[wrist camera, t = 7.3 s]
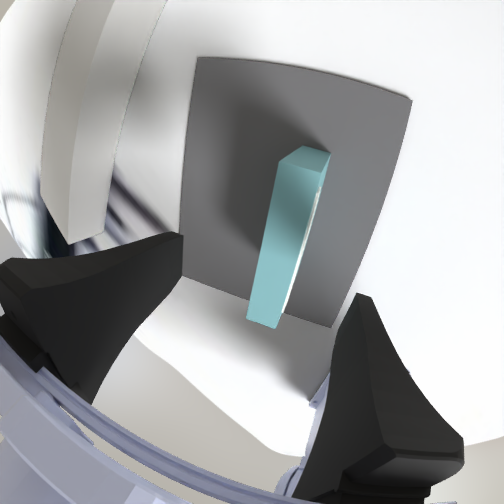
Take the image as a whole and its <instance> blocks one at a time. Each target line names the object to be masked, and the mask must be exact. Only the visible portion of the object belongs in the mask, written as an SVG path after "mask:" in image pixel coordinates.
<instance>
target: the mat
mask: <svg viewBox="0 0 504 504" xmlns="http://www.w3.org/2000/svg"><path fill="white" fill-rule="evenodd" d="M412 102H413V100H410V99H408V98H405V97H402V96H400V95H397V94H394V93H391V92H389V91H386V90H383V89H380V88H377V87H374V86H370V85H367V84H364V83H361V82H357V81H354V80H350V79H346V78H342V77H339V76H335V75H330V74H326V73H322V72H317V71H313V70H308V69H303V68H297V67H292V66H286V65H279V64H272V63H265V62H257V61H247V60H236V59H222V58H198V60H197V66H196V72H195V78H194V85H193V91H192V99H191V106H190V114H189V122H188V130H187V139H186V149H185V159H184V171H183V183H182V197H181V213H180V234H181V235H184V240H183V266H182V276H185V277H187V278H190V279H193V280H195V281H198V282H200V283H203V284H206V285H208V286H211V287H214V288H216V289H219V290H222V291H224V292H227V293H230V294H232V295H235V296H238V297H241V298H243V299H246V300H249V301H250V297H251V292H252V288H253V283H254V279H255V274H256V269H257V264H258V260H259V255H260V250H261V246H262V241H263V236H264V231H265V227H266V222H267V217H268V212H269V208H270V203H271V198H272V193H273V188H274V184H275V179H276V174H277V169H278V164H279V161H280V160H282V159H283V158H285V157H286V156H288V155H289V154H291V153H292V152H294V151H295V150H297V149H298V148H300V147H301V146H307V147H311V148H314V149H318V150H322V151H325V152H329V153H331V155H330V159H329V163H328V167H327V171H326V175H325V179H324V183H323V186H322V190H321V194H320V197H319V201H318V205H317V208H316V212H315V215H314V219H313V223H312V226H311V229H310V233H309V236H308V240H307V243H306V246H305V250H304V253H303V256H302V260H301V263H300V266H299V269H298V273H297V275H296V278H295V281H294V283H293V286H292V289H291V292H290V296H289V299H288V302H287V304H286V307H285V309H284V313H286V314H289V315H292V316H295V317H298V318H301V319H304V320H308V321H311V322H314V323H317V324H320V325H323V326H326V327H329V328H331V327H332V325H333V323H334V321H335V319H336V317H337V315H338V313H339V311H340V308H341V306H342V304H343V302H344V300H345V298H346V295H347V293H348V291H349V289H350V287H351V284H352V282H353V280H354V278H355V275H356V273H357V271H358V268H359V266H360V263H361V261H362V259H363V256H364V254H365V251H366V249H367V246H368V244H369V241H370V239H371V236H372V233H373V231H374V228H375V225H376V223H377V220H378V217H379V215H380V212H381V209H382V206H383V203H384V200H385V197H386V194H387V191H388V188H389V185H390V182H391V179H392V176H393V173H394V170H395V166H396V163H397V160H398V156H399V153H400V149H401V146H402V142H403V138H404V134H405V131H406V127H407V123H408V119H409V115H410V110H411V106H412Z"/></svg>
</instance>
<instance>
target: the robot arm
mask: <svg viewBox="0 0 504 504" xmlns="http://www.w3.org/2000/svg"><path fill="white" fill-rule="evenodd" d="M183 240H184V235H181V234H178V233H175V232H172V231H171V232H166V233H162V234H158V235H155V236H151V237H148V238H145V239H142V240H138V241H135V242H132V243H129V244H125V245H121V246H118V247H114V248H111V249H107V250H103V251H99V252H94V253H89V254H84V255H77V256H69V257H61V258H47V259H28V258H10V259H8V260H6V261H5V262H3V263H2V264H0V303H1V306H2V308H3V310H4V312H5V314H4V315H2V316H0V415H1V416H2V418H1V419H0V432H1V433H2V435H3V436H4V437H5V438H4V440H3V441H2V442H1V443H0V504H192V503H190V502H188V501H186V500H183V499H181V498H179V497H177V496H176V495H174V494H172V493H170V492H168V491H166V490H164V489H162V488H160V487H158V486H156V485H154V484H153V483H151V482H149V481H147V480H146V479H144V478H142V477H140V476H139V475H137V474H135V473H134V472H132V471H130V470H129V469H127V468H126V467H124V466H122V465H121V464H119V463H118V462H116V461H115V460H113V459H112V458H110V457H108V456H107V455H106V454H104V453H103V452H101V451H100V450H99V449H97V448H96V447H94V446H93V445H94V443H93V442H92V440H90V439H89V438H88V437H87V436H86V435H85V434H84V433H83V432H82V431H81V429H80V428H79V427H78V426H77V425H76V423H75V422H74V420H73V419H71V418H70V416H68V415H67V414H66V413H65V412H64V411H63V410H62V409H61V408H60V406H61V407H62V408H63V409H65V410H66V411H67V412H68V413H69V414H71V415H72V416H73V417H74V418H76V419H77V420H78V421H79V422H81V423H82V424H83V425H84V426H86V427H87V428H88V429H90V430H91V431H92V432H94V433H95V434H97V435H98V436H99V437H101V438H102V439H104V440H105V441H107V442H108V443H110V444H111V445H113V446H114V447H116V448H117V449H119V450H120V451H122V452H123V453H125V454H127V455H128V456H130V457H131V458H133V459H135V460H137V461H138V462H140V463H142V464H143V465H145V466H147V467H149V468H151V469H153V470H154V471H156V472H158V473H160V474H162V475H164V476H166V477H168V478H170V479H172V480H174V481H176V482H179V483H180V484H183V485H185V486H187V487H189V488H191V489H194V490H196V491H199V492H201V493H203V494H206V495H208V496H211V497H214V498H216V499H219V500H222V501H225V502H227V503H230V504H424V498H426V497H429V495H430V492H431V486H433V485H435V484H437V483H439V482H441V481H443V480H445V479H447V478H449V477H451V476H453V475H454V474H456V473H457V472H458V471H459V470H460V469H461V468H462V467H463V465H464V441H463V438H462V437H461V436H460V435H459V434H458V433H457V432H456V431H455V430H454V429H453V428H452V427H451V426H450V425H449V424H448V423H447V422H446V421H445V420H444V419H443V418H442V417H441V415H440V414H439V413H438V412H437V411H436V410H435V408H434V407H433V406H432V405H431V404H430V402H429V401H428V400H427V399H426V397H425V396H424V394H423V393H422V392H421V390H420V389H419V388H418V386H417V385H416V383H415V382H414V380H413V379H412V377H411V375H410V374H409V373H408V371H407V369H406V368H405V366H404V364H403V363H402V361H401V359H400V357H399V356H398V354H397V352H396V350H395V348H394V346H393V344H392V342H391V340H390V338H389V336H388V334H387V332H386V329H385V327H384V325H383V323H382V321H381V318H380V316H379V314H378V312H377V309H376V307H375V305H374V302H373V300H372V298H371V297H369V296H366V295H363V294H359V293H356V295H355V297H354V299H353V301H352V303H351V305H350V307H349V309H348V311H347V313H346V315H345V317H344V319H343V321H342V323H341V325H340V327H339V329H338V332H337V336H336V340H335V345H334V349H333V354H332V362H331V370H330V372H329V374H328V376H327V377H326V379H325V380H324V382H323V383H322V385H321V386H320V388H319V389H318V391H317V392H316V394H315V395H314V396H313V398H312V399H311V401H310V402H309V407H311V408H315V409H316V412H315V416H314V420H313V424H312V428H311V432H310V435H309V439H308V443H307V446H306V451H305V455H306V456H303V457H302V459H301V463H300V466H293V467H291V468H290V469H289V470H288V471H287V472H286V473H285V474H284V475H283V476H282V477H281V479H280V480H279V482H278V484H277V486H276V489H275V492H274V493H271V492H268V491H264V490H261V489H257V488H254V487H251V486H248V485H244V484H242V483H238V482H236V481H233V480H230V479H227V478H225V477H222V476H219V475H217V474H214V473H212V472H209V471H207V470H204V469H202V468H200V467H197V466H195V465H193V464H191V463H188V462H186V461H184V460H182V459H180V458H178V457H176V456H173V455H172V454H170V453H168V452H166V451H164V450H162V449H160V448H158V447H156V446H154V445H153V444H151V443H149V442H147V441H145V440H144V439H141V438H140V437H138V436H137V435H135V434H133V433H132V432H130V431H128V430H127V429H125V428H124V427H122V426H120V425H119V424H117V423H116V422H114V421H113V420H111V419H110V418H108V417H107V416H105V415H104V414H102V413H101V412H100V411H98V410H97V409H95V408H94V407H92V406H91V405H92V403H93V400H94V398H95V396H96V394H97V392H98V390H99V388H100V386H101V384H102V382H103V380H104V378H105V377H106V375H107V373H108V371H109V369H110V368H111V366H112V364H113V363H114V361H115V360H116V358H117V356H118V355H119V353H120V352H121V350H122V349H123V347H124V346H125V344H126V343H127V342H128V340H129V339H130V337H131V336H132V335H133V333H134V332H135V331H136V329H137V328H138V327H139V326H140V325H141V324H142V323H143V322H144V320H145V319H146V318H147V317H148V316H149V315H150V314H151V313H152V312H153V311H154V310H155V309H156V308H157V306H158V305H159V304H160V303H161V302H162V301H163V300H164V299H165V298H166V297H167V296H168V294H169V293H170V292H171V291H172V289H173V288H174V287H175V285H176V284H177V282H178V281H179V279H180V278H181V276H182V266H183ZM432 504H457V502H456V501H453V502H444V503H432Z"/></svg>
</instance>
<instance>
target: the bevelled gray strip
mask: <svg viewBox="0 0 504 504" xmlns="http://www.w3.org/2000/svg"><path fill="white" fill-rule="evenodd" d="M166 2H167V0H77V2H76V4H75V6H74V9H73V12H72V14H71V17H70V20H69V22H68V25H67V28H66V31H65V34H64V37H63V41H62V44H61V47H60V51H59V54H58V58H57V62H56V66H55V70H54V74H53V79H52V84H51V88H50V94H49V99H48V105H47V111H46V118H45V126H44V135H43V145H42V159H41V189H40V195H41V197H42V198H43V200H44V202H45V204H46V206H47V208H48V210H49V212H50V214H51V215H52V217H53V219H54V221H55V223H56V224H57V226H58V228H59V229H60V231H61V233H62V235H63V236H64V238H65V240H66V241H67V243H68V244H72V243H74V242H77V241H80V240H83V239H86V238H89V237H92V236H95V235H98V234H101V233H103V232H104V227H105V218H106V210H107V203H108V196H109V190H110V184H111V178H112V172H113V166H114V160H115V156H116V151H117V146H118V142H119V137H120V133H121V129H122V125H123V121H124V117H125V113H126V110H127V106H128V102H129V99H130V95H131V92H132V89H133V86H134V83H135V80H136V77H137V74H138V71H139V68H140V65H141V62H142V59H143V57H144V54H145V51H146V48H147V46H148V43H149V41H150V38H151V35H152V33H153V31H154V28H155V26H156V23H157V21H158V19H159V17H160V14H161V12H162V10H163V8H164V6H165V4H166Z"/></svg>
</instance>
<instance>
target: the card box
mask: <svg viewBox="0 0 504 504" xmlns="http://www.w3.org/2000/svg"><path fill="white" fill-rule="evenodd" d="M330 155H331V153H329V152H325V151H322V150H318V149H314V148H311V147H307V146H301V147H300V148H298V149H297V150H295V151H294V152H292V153H291V154H289V155H288V156H286V157H285V158H283V159H282V160H280V161H279V164H278V169H277V174H276V179H275V184H274V188H273V193H272V198H271V203H270V208H269V212H268V217H267V222H266V227H265V231H264V236H263V241H262V246H261V250H260V255H259V260H258V264H257V269H256V274H255V279H254V283H253V288H252V292H251V297H250V302H249V306H248V311H247V316H246V319H248V320H251V321H254V322H257V323H259V324H262V325H265V326H268V327H271V328H274V329H276V327H277V324H278V322H279V319H280V317H281V314H282V313H283V312H284V309H285V307H286V304H287V302H288V299H289V296H290V292H291V289H292V286H293V283H294V281H295V278H296V275H297V273H298V269H299V266H300V263H301V260H302V256H303V253H304V250H305V246H306V243H307V240H308V236H309V233H310V229H311V226H312V223H313V219H314V215H315V212H316V208H317V205H318V201H319V197H320V194H321V190H322V186H323V183H324V179H325V175H326V171H327V167H328V163H329V159H330Z"/></svg>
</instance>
